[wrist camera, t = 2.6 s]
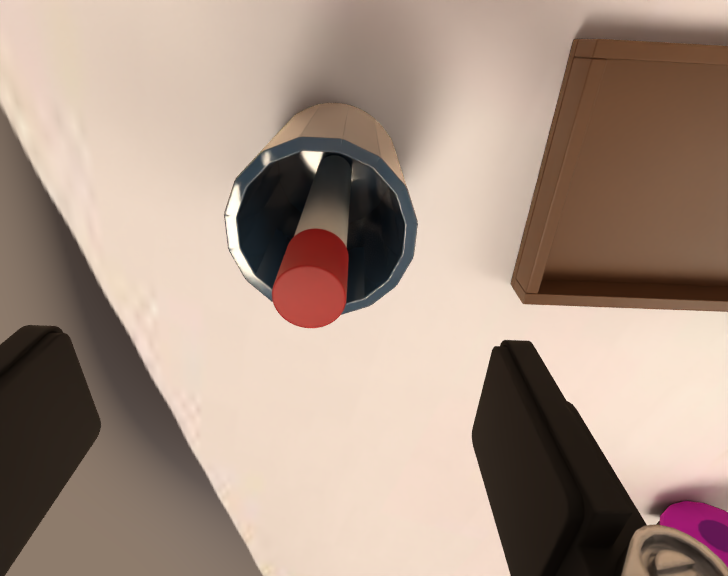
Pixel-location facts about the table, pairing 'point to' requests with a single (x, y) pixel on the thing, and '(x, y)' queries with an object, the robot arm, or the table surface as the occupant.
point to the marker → (318, 252)
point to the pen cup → (290, 191)
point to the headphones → (700, 524)
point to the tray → (633, 182)
